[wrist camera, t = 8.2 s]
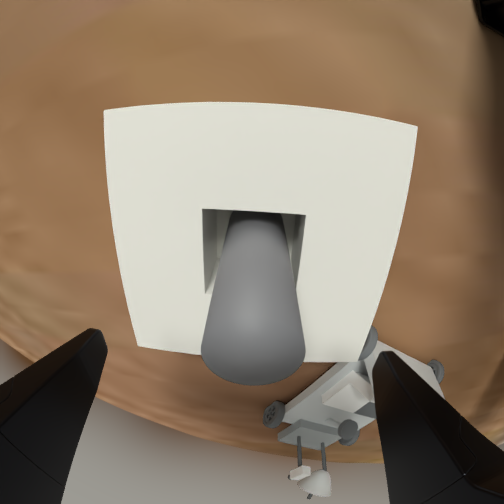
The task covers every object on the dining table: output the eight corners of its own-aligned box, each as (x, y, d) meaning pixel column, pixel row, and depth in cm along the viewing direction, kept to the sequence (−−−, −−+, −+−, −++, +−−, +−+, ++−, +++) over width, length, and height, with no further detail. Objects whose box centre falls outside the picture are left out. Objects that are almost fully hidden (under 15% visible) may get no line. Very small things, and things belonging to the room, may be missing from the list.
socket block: (379, 120, 15) (417, 126, 11) (343, 313, 21) (357, 361, 17) (145, 107, 15) (103, 110, 11) (160, 301, 22) (138, 346, 17)
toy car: (332, 503, 23) (243, 494, 21) (327, 438, 32) (250, 417, 29) (472, 432, 15) (400, 418, 13) (438, 355, 24) (365, 315, 22)
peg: (285, 200, 17) (313, 317, 8) (280, 250, 18) (297, 386, 9) (229, 198, 17) (196, 312, 8) (228, 248, 18) (204, 382, 9)
